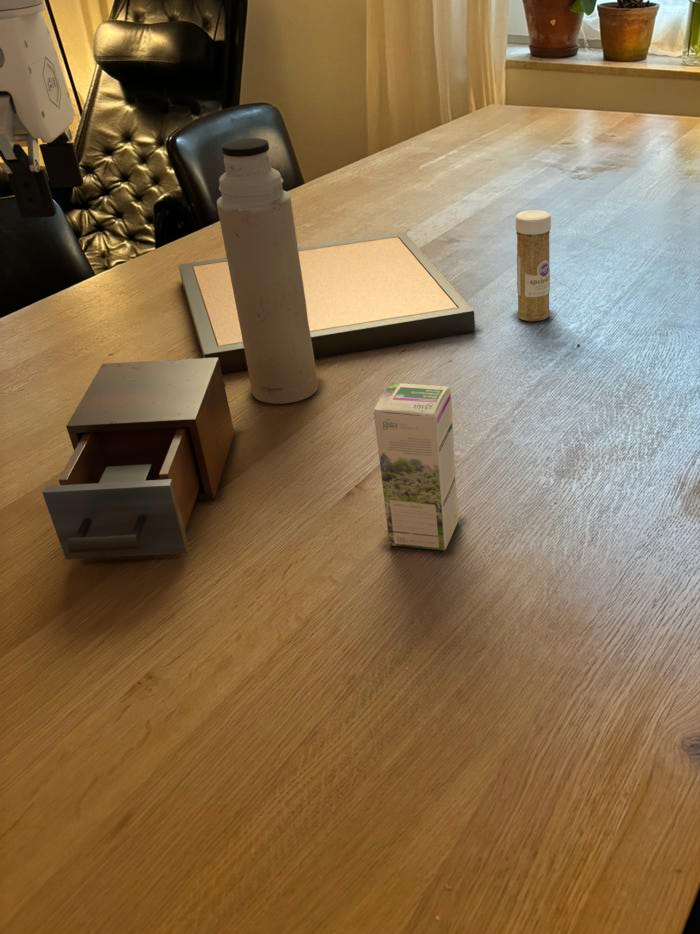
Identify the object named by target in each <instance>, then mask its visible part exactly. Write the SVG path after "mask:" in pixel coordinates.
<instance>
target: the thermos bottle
mask: <svg viewBox="0 0 700 934" xmlns="http://www.w3.org/2000/svg"><path fill="white" fill-rule="evenodd" d="M269 150H270V145H269V141H268V140H267V139H265V138H258V137H244V138H237V139H232V140H229V141H226V142H224V143H222V144H221V151H222V154H223V157H224V158H223V164H224V170H225V172H223V174H222V175H220V176H219V178H218V182H219V187H218V190H219V192H220V194H221V196H220V197H218V198H217V200H216V208H217V214H218V219H219V225H220V229H221V234H222V239H223V246H224V250H225V255H226V258H227V261H228V266H229V272H230V277H231V282H232V287H233V293H234V298H235V303H236V308H237V314H238V319H239V324H240V330H241V335H242V340H243V345H244V351H245V356H246V361H247V366H248V370H247V372H248V377H249V382H250V387H251V391H252V395H253V397H254V398H255V399H256V400H257V401H260V402H263V403H266V404H271V405H273V404H274V405H275V404H276V405H282V404H283V405H285V404H291V403H296V402H299V401H300V402H301V401H302V400H305V399H308V398H309V397H311V396H313V395H314V394H315V393H316V392H317V390H318V387H319V382H318V376H317V368H316V362H315V361H316V360H315V358H314V354H313V348H312V341H311V335H310V329H309V323H308V316H307V308H306V300H305V293H304V286H303V279H302V272H301V265H300V259H299V252H298V248H299V246H298V237H297V232H296V225H295V224H296V223H295V218H294V212H293V211H294V210H293V206H292V204H293V203H292V198H291V194H290V193H289V192H288V191H286V190H284V188H283V183H284V179H283V178H282V175H281V173H280V172H279V170H278V169H275V168H273V167H272V164H271V157H270V154H269V152H268V151H269Z"/></svg>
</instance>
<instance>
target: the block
mask: <svg viewBox="0 0 700 934" xmlns="http://www.w3.org/2000/svg"><path fill="white" fill-rule="evenodd" d="M147 480H156V478H155V474H154V470H153V466H152V464H144V465H126V466H107V467H106V469H105V471H104V473H103V475H102V477H101V479H100V481H99V483H111V482H129V481H147Z"/></svg>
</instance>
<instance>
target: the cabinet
mask: <svg viewBox="0 0 700 934" xmlns="http://www.w3.org/2000/svg"><path fill="white" fill-rule="evenodd" d="M231 414H232V413H231V410H230V406H229V401H228V395H227V391H226V386H225V381H224V376H223V374H222V371H221V367H220V362H219V358H218V357H217V358H203V357H202V358H200V357H199V358H184V359H183V358H182V359H164V360H148V361H147V360H146V361H128V362H126V361H125V362H108V363H101V366H100V367H99V369H98V371H97V372H96V374H95V376H94V377H93V379H92V381H91V382H90V384H89V386H88V388H87V389H86V391H85V393H84V394H83V396H82V398H81V400H80V402H79V404H78V405H77V407H76V408H75V410H74V412H73V413H72V415H71V417H70V419H69V420H68V422H67V423H66V426H65V428H66V430H67V434H68V437H69V439H70V442H71V446H72V448H73V452H74V451H75V449H76V447H77V445H78V444H79V442H80V440H81V438H82V436H83V434H84V433H85V432H103V431H121V430H139V429H158V428H176V427H189V429H190V433H191V437H192V441H193V445H194V450H195V454H196V458H197V462H198V466H199V471H200V475H201V479H202V482H201V485H200V488H199V491H198V494H197V497H196V500H195V501H210V500H211V501H212V500H215V498H216V494H217V491H218V487H219V484H220V481H221V478H222V475H223V471H224V468H225V465H226V461H227V459H228V455H229V452H230V448H231V445H232V442H233V439H234V435H235V429H234V425H233V419H232V415H231Z"/></svg>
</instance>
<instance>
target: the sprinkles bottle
mask: <svg viewBox="0 0 700 934" xmlns="http://www.w3.org/2000/svg"><path fill="white" fill-rule="evenodd" d="M551 228H552V217H551V213H549V212H548V211H545V210H539V209H538V210H536V209H533V210H532V209H531V210H524V211H521V212H519V213H517V214H516V215H515V234H516V251H517V252H516V291H517V317H518V318H519V319H520V320H522V321H526V322H539V321H544V320H546V319H548V318H549V317H550V315H551V310H550V292H551V269H550V252H551V251H550V233H551V230H552V229H551Z"/></svg>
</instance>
